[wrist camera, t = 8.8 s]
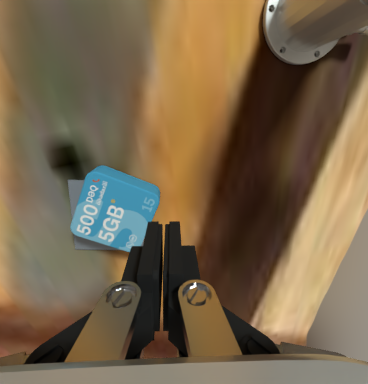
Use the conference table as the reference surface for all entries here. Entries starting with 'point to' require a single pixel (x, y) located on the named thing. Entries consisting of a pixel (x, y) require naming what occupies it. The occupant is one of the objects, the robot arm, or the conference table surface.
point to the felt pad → (74, 194)
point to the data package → (114, 208)
